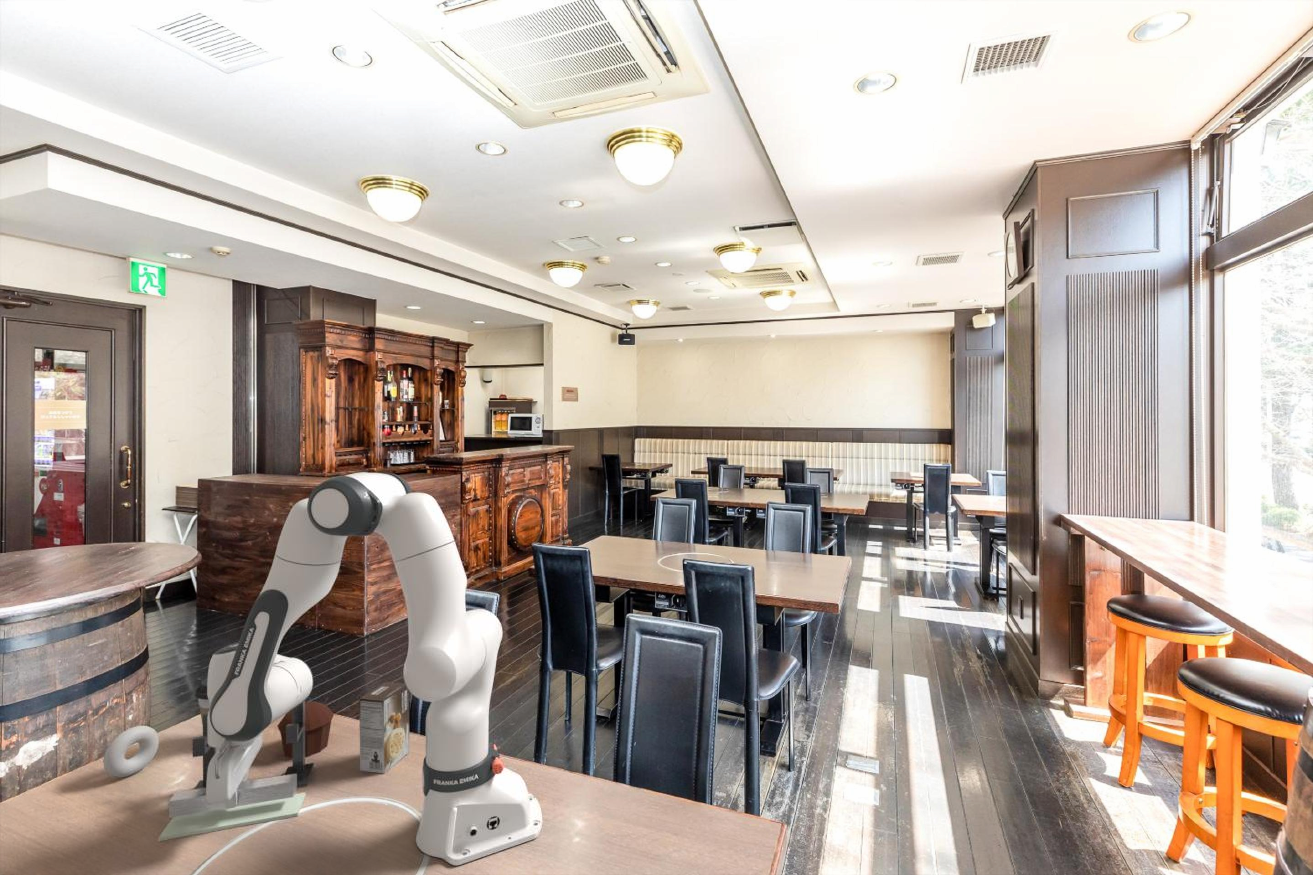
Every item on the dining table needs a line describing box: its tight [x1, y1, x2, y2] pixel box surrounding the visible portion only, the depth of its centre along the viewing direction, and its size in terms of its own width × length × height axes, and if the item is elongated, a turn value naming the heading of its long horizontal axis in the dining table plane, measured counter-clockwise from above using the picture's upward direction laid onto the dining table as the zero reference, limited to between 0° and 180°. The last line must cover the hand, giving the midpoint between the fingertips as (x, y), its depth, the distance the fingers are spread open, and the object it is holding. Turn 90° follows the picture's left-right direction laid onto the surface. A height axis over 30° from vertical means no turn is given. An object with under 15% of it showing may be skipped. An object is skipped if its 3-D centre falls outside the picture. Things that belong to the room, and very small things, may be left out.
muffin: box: [277, 701, 335, 759], centre depth 141 cm, size 12×11×10 cm
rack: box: [192, 699, 315, 789], centre depth 125 cm, size 21×8×16 cm, turn 109°
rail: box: [168, 773, 298, 818], centre depth 116 cm, size 20×3×3 cm, turn 109°
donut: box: [102, 725, 160, 778], centre depth 130 cm, size 10×4×10 cm, turn 161°
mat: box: [158, 792, 307, 842], centre depth 116 cm, size 22×7×1 cm, turn 109°
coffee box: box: [358, 681, 410, 774], centre depth 135 cm, size 9×6×16 cm
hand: (236, 799), depth 116 cm, fingers closed on rail, 3 cm apart
